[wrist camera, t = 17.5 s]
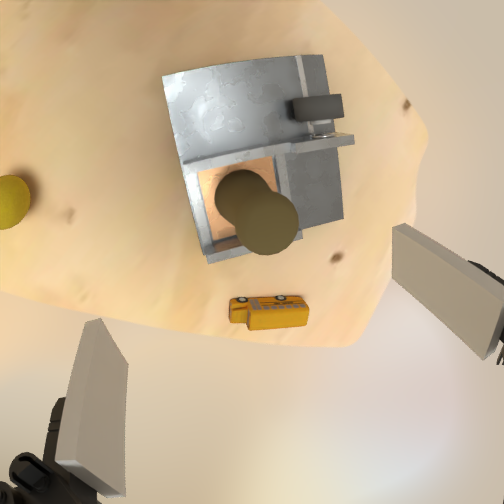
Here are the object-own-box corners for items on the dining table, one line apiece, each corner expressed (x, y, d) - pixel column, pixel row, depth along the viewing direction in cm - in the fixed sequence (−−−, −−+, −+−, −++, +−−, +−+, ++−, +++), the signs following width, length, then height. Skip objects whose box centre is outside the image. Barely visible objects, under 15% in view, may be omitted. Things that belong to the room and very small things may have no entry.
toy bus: (229, 296, 40) (234, 313, 37) (299, 293, 43) (310, 308, 40) (227, 317, 42) (233, 334, 38) (296, 312, 44) (306, 328, 41)
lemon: (35, 221, 30) (6, 247, 23) (-1, 208, 28) (-34, 230, 21) (45, 176, 29) (14, 192, 22) (8, 164, 27) (-28, 177, 20)
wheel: (285, 99, 30) (303, 97, 26) (327, 95, 31) (350, 93, 27) (289, 125, 32) (308, 127, 27) (330, 120, 32) (354, 121, 28)
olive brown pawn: (225, 231, 35) (248, 277, 25) (206, 181, 32) (222, 207, 22) (275, 212, 35) (317, 249, 26) (260, 161, 33) (299, 179, 23)
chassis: (162, 78, 28) (159, 69, 23) (317, 56, 31) (342, 47, 25) (202, 250, 37) (208, 273, 31) (337, 215, 39) (362, 230, 34)
